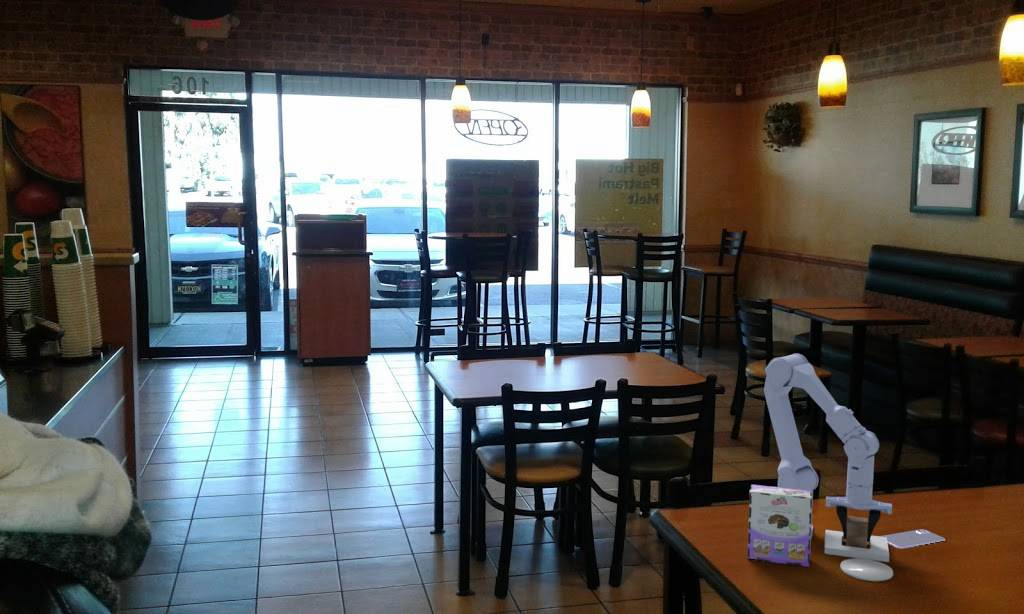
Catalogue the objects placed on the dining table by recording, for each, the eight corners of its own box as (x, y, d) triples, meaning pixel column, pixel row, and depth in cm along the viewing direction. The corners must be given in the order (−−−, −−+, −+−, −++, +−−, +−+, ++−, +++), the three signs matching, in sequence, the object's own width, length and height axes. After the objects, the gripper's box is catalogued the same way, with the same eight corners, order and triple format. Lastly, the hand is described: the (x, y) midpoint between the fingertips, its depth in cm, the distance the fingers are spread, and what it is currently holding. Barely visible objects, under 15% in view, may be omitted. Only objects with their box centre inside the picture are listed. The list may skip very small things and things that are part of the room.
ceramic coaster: (840, 576, 200) (840, 574, 200) (840, 558, 210) (840, 555, 210) (894, 584, 196) (894, 581, 196) (891, 565, 207) (891, 562, 207)
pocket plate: (824, 553, 213) (824, 547, 213) (825, 535, 224) (825, 529, 224) (888, 562, 208) (889, 555, 208) (886, 543, 220) (886, 537, 219)
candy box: (809, 558, 210) (813, 489, 208) (809, 568, 205) (812, 497, 203) (748, 550, 215) (751, 482, 213) (746, 559, 209) (749, 490, 207)
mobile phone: (876, 535, 223) (923, 527, 228) (876, 539, 223) (923, 531, 228) (899, 546, 216) (947, 538, 221) (899, 550, 216) (947, 542, 221)
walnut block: (845, 550, 215) (847, 522, 214) (845, 543, 219) (847, 515, 218) (866, 553, 213) (868, 524, 213) (865, 546, 218) (867, 518, 217)
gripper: (826, 484, 213) (823, 540, 215) (893, 492, 208) (890, 549, 210) (827, 476, 220) (824, 530, 221) (892, 483, 215) (888, 538, 216)
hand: (856, 538), depth 216 cm, fingers closed on walnut block, 4 cm apart
